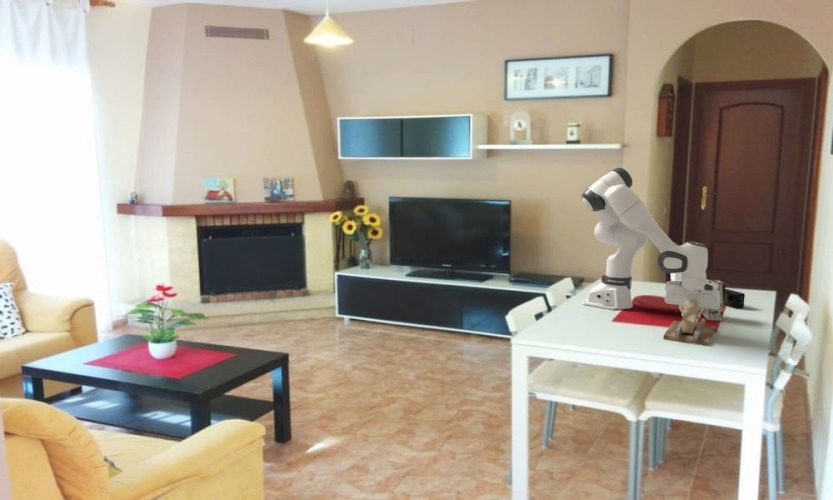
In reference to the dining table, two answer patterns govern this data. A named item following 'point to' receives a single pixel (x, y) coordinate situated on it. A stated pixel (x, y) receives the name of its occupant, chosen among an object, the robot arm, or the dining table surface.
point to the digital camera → (734, 299)
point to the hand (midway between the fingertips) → (690, 317)
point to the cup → (676, 277)
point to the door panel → (690, 316)
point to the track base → (698, 337)
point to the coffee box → (718, 314)
